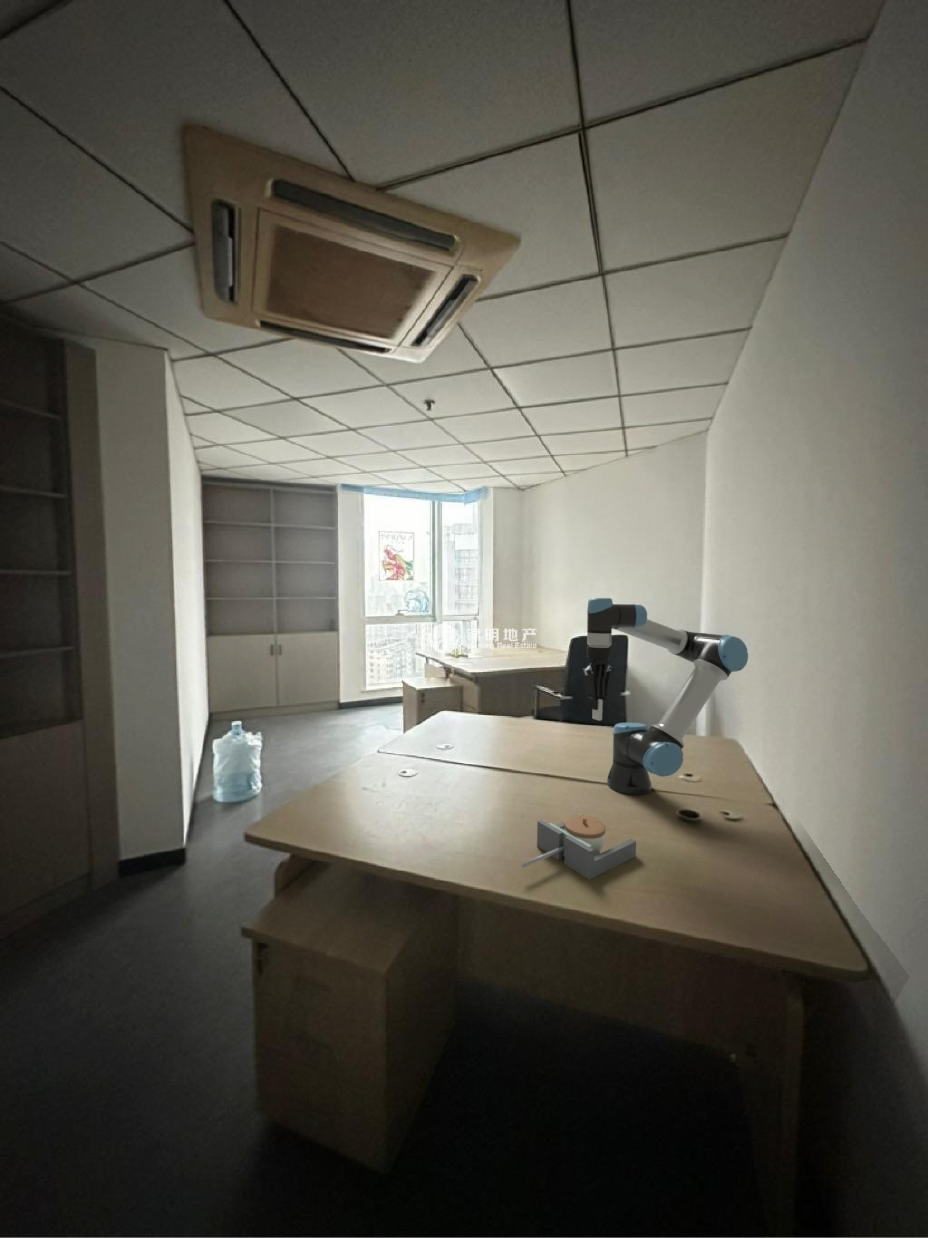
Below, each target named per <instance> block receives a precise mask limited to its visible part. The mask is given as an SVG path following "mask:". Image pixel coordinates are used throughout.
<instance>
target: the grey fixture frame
mask: <svg viewBox="0 0 928 1238" xmlns="http://www.w3.org/2000/svg"><path fill="white" fill-rule="evenodd" d="M583 815H584V816H586V815H585V814H583ZM536 823H537V825H536V826H537V828H536V830H537V831H536V835H537V836H536V847H537V848H538V849H541V850H542V851H544V853H548V852H550V851H552V850H555V849H557V848H559V847H562V846H563V832H562V831H560V830H559V829H557V828H555V827H553V826H551V825H550V824H549V823H548V822H546V821H545V820H542V819H540V820H538V821H537V822H536ZM555 825H556V826H558V827H559V828H561V829H563V830H564V821H562V822H560V823H557V824H555ZM636 856H637V840H634V839H632V838H630V839H628V840H626V841H624V842H621V843H619V844H617V845H616V846H614V847H613V846H612V847H611V848H609V849H606V850H605V851H603V852H599V853H598V854H597V855H596V856H594V849H592V848H590V847H588V846H587V845H585V844H583V843H581V842H580V841H578V840H576V839H574V838H573V837H571V836H567V837H565V856H563V851H561V852H559V853H557V854H554V855H552V856H551V857H553V858H555V859H556V860H558V861H560V860H563V858H564V863H563V864H564V865H566V866H567V867H569V868H570V869H571V870H573V871H574V872H576V873H578V874H579V875H581V876H583V877H584V878H585V879H586V880H588V881H591V880H593V879H594V878H596V877H598V876H599V875H602V874H604V873H606V872H607V871H609V870H612V869H614V868H616V867H618V866H620V865H621V864H623V863H626V862H627V861H629V860H631V859H633V858H635V857H636Z"/></svg>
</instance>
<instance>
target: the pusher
mask: <svg viewBox="0 0 928 1238" xmlns="http://www.w3.org/2000/svg"><path fill="white" fill-rule="evenodd" d="M548 824H550V825H551V826H553V827H555V828H557V829H559V830H560V831H562V832H563V846H562V847H559V848H557V849H555V850H552V851H550V852H548V853H547V852H544V853H543V854H541V855H538V856H536V857H534V858H532V859H529V860H527V861H524V862H522V863H521V864H520V865H521V869H524V868H526V867H529V866H531V865H534V864H536V863H538V862H541V861H543V860H545V859H547V858H549V857H553V856H552V855H554V854H557V853H559V852H561V851H563V857H565V837H567V836H571V837H573V838H574V839H576V840H578V841H580V842H581V843H583V844H585V845H587V846H588V847H590V848H592V846H591V845H590V844H588V843H586V842H584V841H582V840H581V839H579V838H577V837H575V836H574V835H572V834H570V833H568V832H566V831H565V830H563V829H561V828H559V827H558V826H556V825H557V824H554V823H552V822H549V823H548Z"/></svg>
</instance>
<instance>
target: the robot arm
mask: <svg viewBox="0 0 928 1238" xmlns="http://www.w3.org/2000/svg"><path fill="white" fill-rule="evenodd" d="M586 614H587V615H586V616H587V620H586V621H587V622H586V623H587V626H586V627H587V630H586V633H587V634H586V635H587V636H586V641H587V642H586V644H587V645H588V646H587V647H586V658H587V659H588V662H587V667H586V668H582V670H581V671H582V673H583V676H584V684H585V690H586V697H587V698H589V699H591V710H592V711H591V712H592V714H591V715H592V717H591V718H592V719H593V720H595V721H603V708H604V700H607V698H608V696H609V692H610V686H611V680H612V676H613V672H614V670H615V668H614V666H611V665H610V662H609V660H611V658H612V648H611V646H612V644H613V643H612V640H613V639H612V636H613V634H612V633H613V632H612V631H613V630H614V631H615V630H616V631H619V632H621V633H623V634H626V635H629V636H632V637H634V638H637V639H640V640H643V641H645V642H648V643H650V644H653V645H656V646H658V647H662V648H664V649H667V651H668V652H669V653H670V654H672V655H675V656H677V657H679V658H682V659H684V660H687V661H688V662H691V663H693V665H694V667H693V668H694V669H693V670H692V671H691V673H690V675H689V676H688V678H687V679H686V681H685V682H684V684H683V685H682V686H681V688H680V690H679V691H678V693H677V694H676V696H675V697H674V699H673V701H672V702H671V703H670V704H669V707H668V708H667V709H666V711H665V713H664V714H663V716H662V717H661V719H660V720H659V722H658V723H656V724H651V725H650V726H648V725H647V724H645V723H641V722H619V723H616V724H614V727H613V731H612V736H613V739H612V740H613V741H612V742H613V743H612V745H613V746H612V764H611V768H610V769H609V772H608V775H607V778H606V779H607V786H608V787H609V788H610V789H612V790H613V791H616V792H619V793H622V794H627V795H635V796H637V795H639V796H641V795H646V794H649V793H651V792H652V781H651V777H650V775H649V773H650V774H653V775H655V776H659V777H664V778H665V777H669V776H672V775H675V774H676V773H677V772H678V771H679V770H680V769H681V767H682V765H683V763H684V752H683V748H684V747H685V743H684V741H683V739H684V737H685V736H686V734H687V733H688V732H689V730H690V728H691V727H692V725H693V724H694V722H695V720H696V719H697V718H698V715H699V714H700V713H701V711H702V709H703V708H704V706H705V704H706V703H707V702H708V700H709V698H710V697H711V696H712V693H714V690H715V689H716V688H717V687H718V685H719V683H720V682H722V681H727V680H728V679H729V677H730V675H731V673H734V672H739V671H742V670H743V669H744V668H745V667H746V665H747V663H748V659H749V653H748V648H747V647H748V646H747V645H746V644H745V642H744V641H743V640H742V639H741V638H740V637H736V636H732V635H728V634H723V635H722V634H717V633H715V634H714V633H706V632H705V633H704V632H693V631H688V630H685V629H682V628H678V629H674V628H672V627H669V626H666V625H664V624H661V623H659V622H657V621H653V620H651V619H648V611H647V609H646V608H645V606H643V605H642V604H635V603H633V604H631V603H630V604H628V603H627V604H625V603H624V604H623V603H622V604H619V603H617V604H614V603H613V599H612V598H611V597H607V598H606V597H591V598H590V599H589V600H588V602H587V611H586Z"/></svg>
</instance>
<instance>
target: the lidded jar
mask: <svg viewBox="0 0 928 1238" xmlns="http://www.w3.org/2000/svg"><path fill="white" fill-rule="evenodd" d="M584 815H585V814H578V815H577V814H575V815H571V816H568V817H566V818H565V819H564V821H563V822H564V830H565V831H566V832H568V833H570V834H572V835H574V836H575V837H577V838H579V839H581V840H582V841H584V842H586V843H588V844H590V845H591V846H592V849H594V856H596V855H598V854H600V853H601V851H602V849H603V848H604V844H605V838H606V825H605V823H603V822H602V821H601V820H599V818H596V817H592V816H590V815H585V816H584Z"/></svg>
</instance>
